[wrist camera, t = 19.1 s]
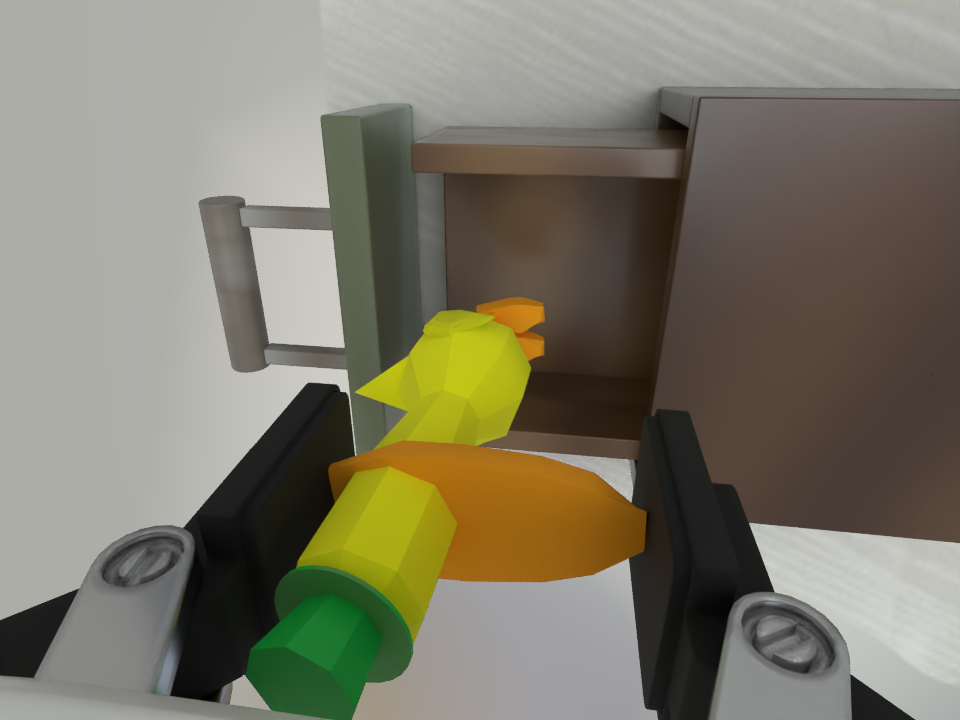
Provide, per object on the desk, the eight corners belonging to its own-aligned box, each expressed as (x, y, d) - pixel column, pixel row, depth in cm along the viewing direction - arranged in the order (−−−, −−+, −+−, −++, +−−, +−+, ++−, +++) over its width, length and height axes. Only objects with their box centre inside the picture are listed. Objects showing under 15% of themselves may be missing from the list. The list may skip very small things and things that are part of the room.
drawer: (294, 373, 27) (228, 444, 22) (252, 101, 22) (155, 112, 17) (712, 403, 25) (747, 491, 20) (772, 107, 20) (840, 122, 15)
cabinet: (620, 398, 26) (636, 512, 20) (659, 86, 21) (699, 96, 14) (981, 425, 25) (1134, 560, 18) (1129, 90, 19) (1433, 103, 12)
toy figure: (636, 269, 16) (668, 645, 6) (631, 385, 18) (649, 851, 7) (402, 271, 18) (80, 573, 7) (416, 378, 19) (168, 757, 9)
